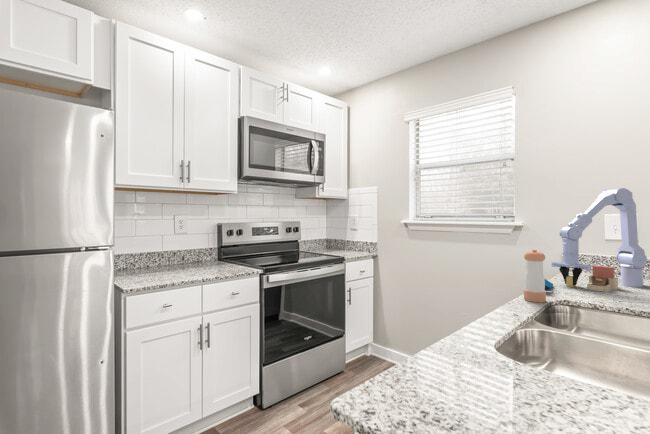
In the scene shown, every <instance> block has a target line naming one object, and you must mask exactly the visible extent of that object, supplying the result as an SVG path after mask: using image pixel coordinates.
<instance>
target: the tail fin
mask: <svg viewBox="0 0 650 434" xmlns="http://www.w3.org/2000/svg"><path fill="white" fill-rule="evenodd" d="M565 286H566V287H569V288H571V287H572V288H575V287H576V285H573V275H569V276H567V277H566V284H565Z"/></svg>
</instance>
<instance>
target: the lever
mask: <svg viewBox="0 0 650 434" xmlns="http://www.w3.org/2000/svg"><path fill="white" fill-rule="evenodd" d="M544 280H545V289H551V288H553V287H554V284H553V283H552V282H551V281H549V280H547V279H546V278H544Z"/></svg>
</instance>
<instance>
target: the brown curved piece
mask: <svg viewBox="0 0 650 434" xmlns="http://www.w3.org/2000/svg"><path fill="white" fill-rule="evenodd" d="M592 275H593V274H592ZM592 275H590V276H591V280H592V285H597V286H606V285H609V282H608V279H606V276H604V277H602V279H601V278H596V279H595V275H593V276H592Z"/></svg>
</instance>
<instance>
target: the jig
mask: <svg viewBox="0 0 650 434" xmlns="http://www.w3.org/2000/svg"><path fill="white" fill-rule="evenodd" d="M591 276H593V274H591V275H589V276H588V283H587V284H586V285H587V287H585V288H583V290H589V291H598V292H605V293H611V292H613V291H617V290H618V289H620V287H619V277H615V279H613V278H608V282H609V285H606V286H597V285H592V280H591ZM595 279H596V278H595Z"/></svg>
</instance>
